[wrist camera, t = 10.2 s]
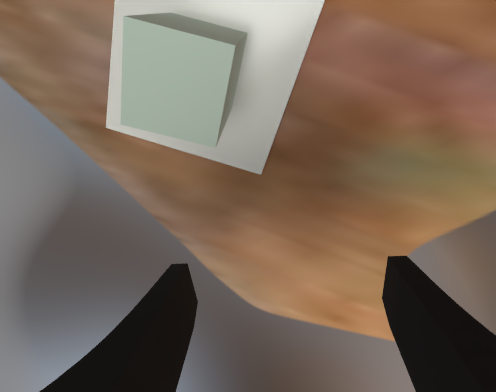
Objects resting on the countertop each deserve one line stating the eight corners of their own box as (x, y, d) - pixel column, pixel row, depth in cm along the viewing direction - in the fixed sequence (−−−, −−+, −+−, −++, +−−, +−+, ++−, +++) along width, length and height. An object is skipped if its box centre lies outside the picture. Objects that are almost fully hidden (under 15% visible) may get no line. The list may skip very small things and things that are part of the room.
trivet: (323, 0, 16) (324, 0, 16) (261, 170, 21) (260, 174, 21) (125, -72, 15) (120, -75, 15) (110, 124, 20) (105, 127, 20)
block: (247, 32, 17) (235, 45, 11) (232, 108, 19) (215, 147, 13) (171, 12, 16) (123, 15, 11) (163, 90, 18) (120, 124, 13)
